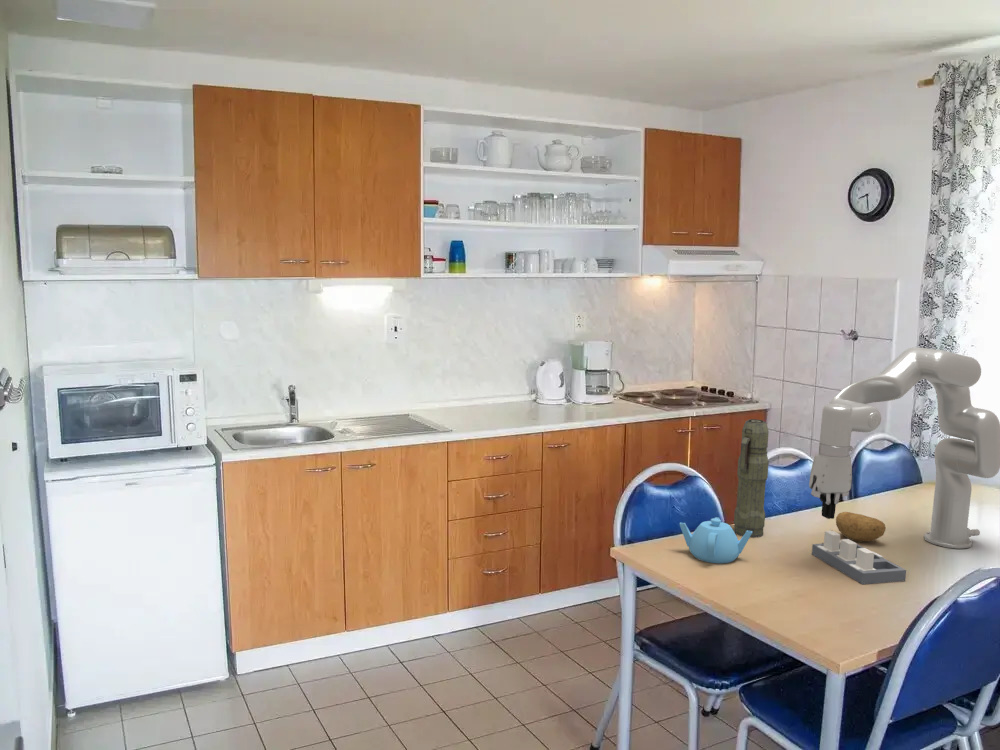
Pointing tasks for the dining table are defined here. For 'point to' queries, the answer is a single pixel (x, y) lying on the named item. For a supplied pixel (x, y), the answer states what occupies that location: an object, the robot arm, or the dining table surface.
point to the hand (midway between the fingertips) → (827, 517)
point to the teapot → (714, 541)
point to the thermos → (752, 479)
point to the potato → (859, 526)
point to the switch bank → (882, 574)
